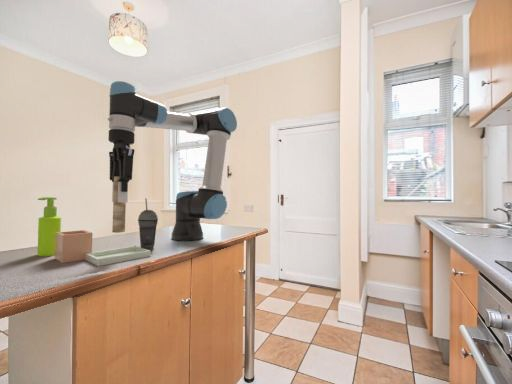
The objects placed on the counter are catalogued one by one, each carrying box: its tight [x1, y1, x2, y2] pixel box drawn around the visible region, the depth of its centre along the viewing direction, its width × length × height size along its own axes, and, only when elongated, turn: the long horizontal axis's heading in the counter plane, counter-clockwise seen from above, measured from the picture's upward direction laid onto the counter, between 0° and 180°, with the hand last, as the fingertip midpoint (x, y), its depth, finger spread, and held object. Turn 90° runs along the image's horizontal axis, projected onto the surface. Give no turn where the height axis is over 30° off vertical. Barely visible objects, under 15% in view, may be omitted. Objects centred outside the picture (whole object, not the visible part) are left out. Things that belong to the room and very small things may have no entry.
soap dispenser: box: [37, 196, 62, 257], centre depth 84 cm, size 6×7×20 cm
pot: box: [54, 229, 93, 264], centre depth 80 cm, size 8×8×9 cm
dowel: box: [111, 176, 127, 234], centre depth 82 cm, size 4×4×18 cm
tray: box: [84, 245, 152, 267], centre depth 82 cm, size 16×11×3 cm
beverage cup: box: [137, 198, 159, 251], centre depth 98 cm, size 7×7×20 cm
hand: (119, 201), depth 82 cm, fingers closed on dowel, 3 cm apart
